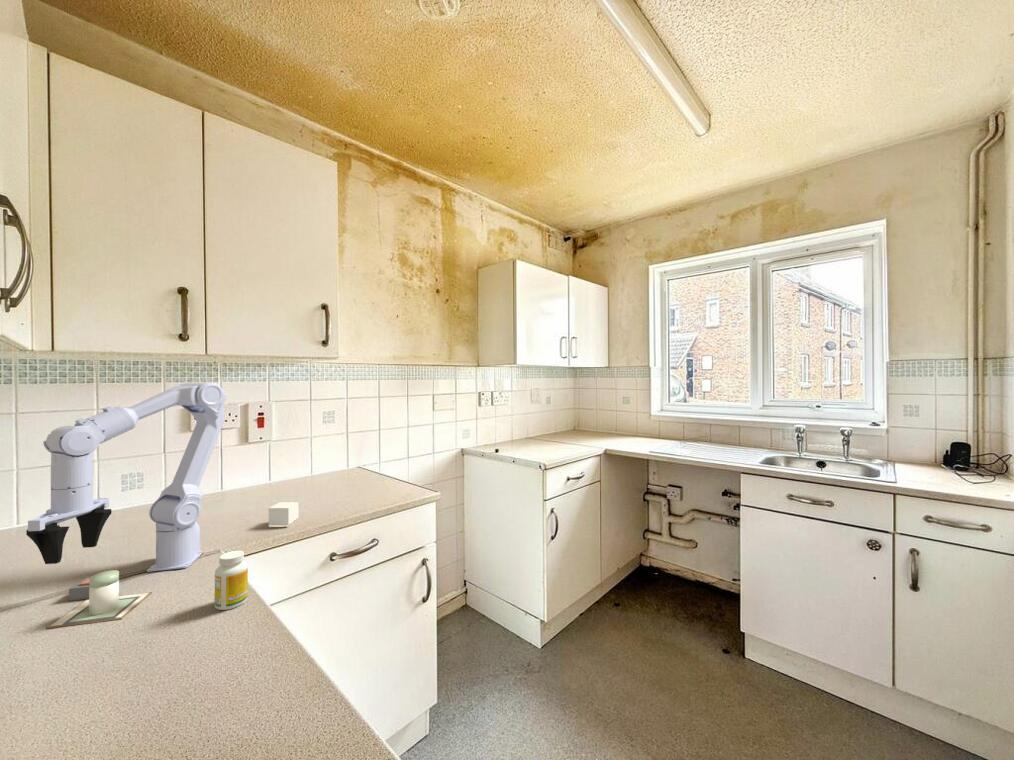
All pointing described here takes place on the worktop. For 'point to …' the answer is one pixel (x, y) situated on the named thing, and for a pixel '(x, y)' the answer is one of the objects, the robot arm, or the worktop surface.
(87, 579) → the button
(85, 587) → the button housing
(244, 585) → the supplement bottle
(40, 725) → the worktop surface
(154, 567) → the robot arm
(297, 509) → the white cube
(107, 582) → the green and cream cylinder
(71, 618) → the picture board
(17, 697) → the worktop surface
